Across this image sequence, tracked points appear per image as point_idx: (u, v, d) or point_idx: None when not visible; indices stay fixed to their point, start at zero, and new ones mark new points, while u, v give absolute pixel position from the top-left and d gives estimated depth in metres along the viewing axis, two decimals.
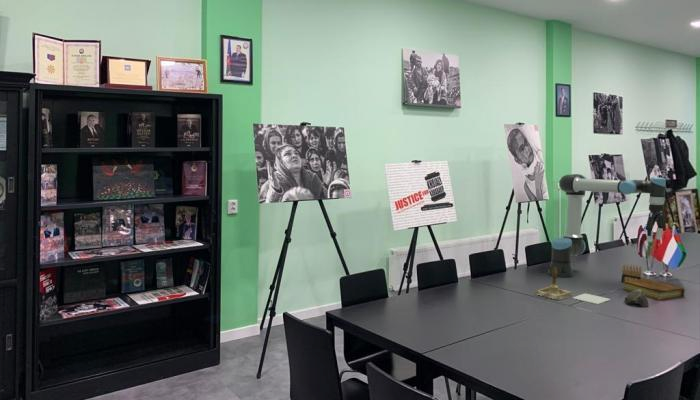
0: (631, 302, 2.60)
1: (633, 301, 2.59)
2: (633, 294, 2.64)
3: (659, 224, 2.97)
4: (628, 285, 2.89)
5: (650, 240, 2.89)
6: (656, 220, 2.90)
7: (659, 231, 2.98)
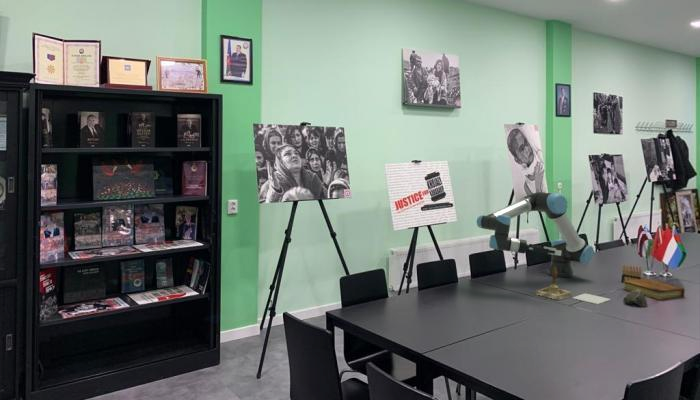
0: (630, 302, 2.60)
1: (632, 301, 2.59)
2: (632, 294, 2.64)
3: None
4: (628, 285, 2.89)
5: None
6: None
7: None
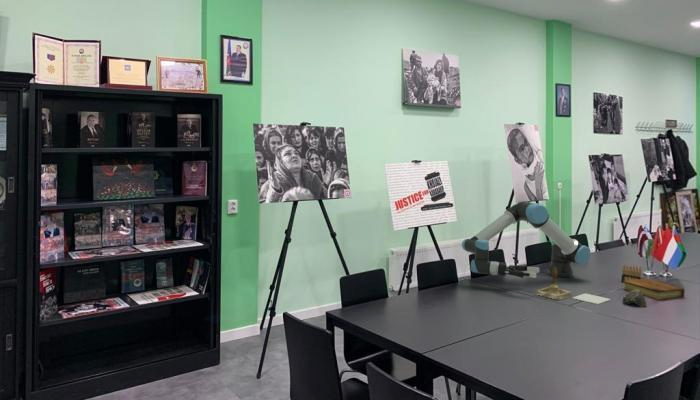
0: (629, 302, 2.60)
1: (631, 301, 2.59)
2: (631, 294, 2.64)
3: None
4: (628, 285, 2.89)
5: None
6: None
7: None
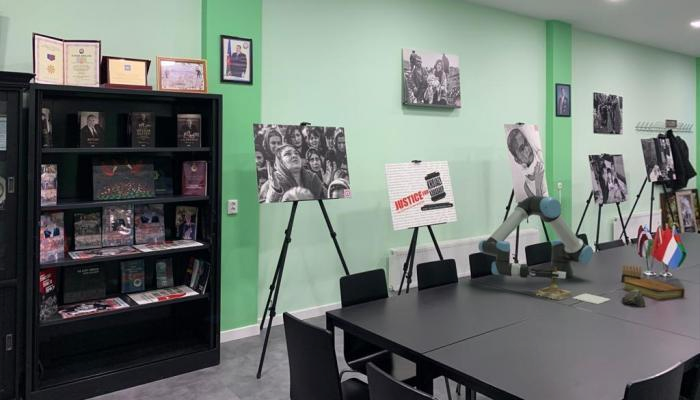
0: (627, 302, 2.60)
1: (629, 301, 2.59)
2: (630, 294, 2.64)
3: None
4: (628, 285, 2.89)
5: None
6: None
7: None
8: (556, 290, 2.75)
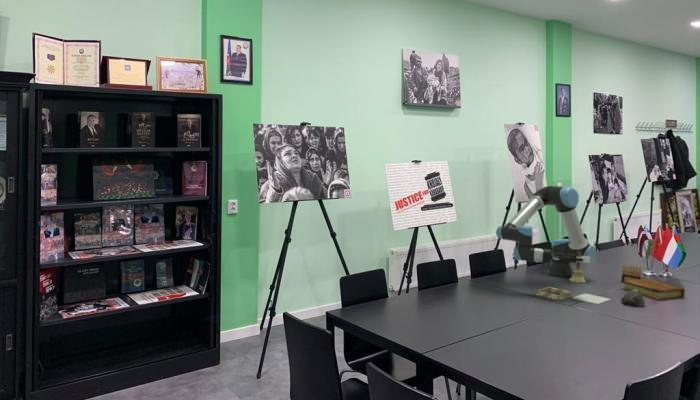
0: (627, 302, 2.60)
1: (629, 301, 2.59)
2: (629, 294, 2.64)
3: None
4: (628, 285, 2.89)
5: None
6: None
7: None
8: (580, 275, 2.69)
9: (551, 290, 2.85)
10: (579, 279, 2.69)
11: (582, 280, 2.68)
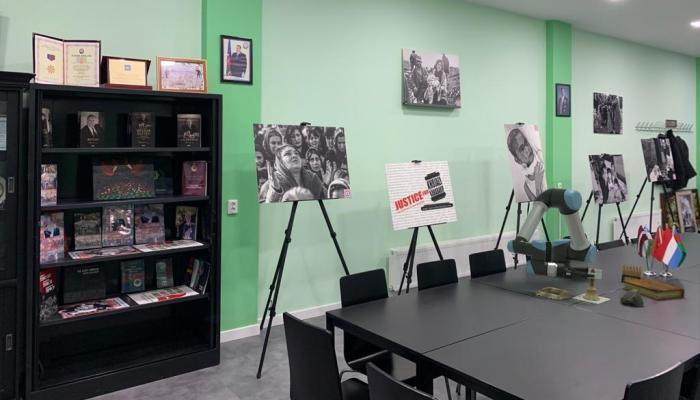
0: (626, 302, 2.60)
1: (628, 301, 2.59)
2: (628, 294, 2.64)
3: None
4: (628, 285, 2.90)
5: None
6: None
7: None
8: (594, 293, 2.69)
9: (551, 290, 2.85)
10: (593, 297, 2.68)
11: (596, 298, 2.68)
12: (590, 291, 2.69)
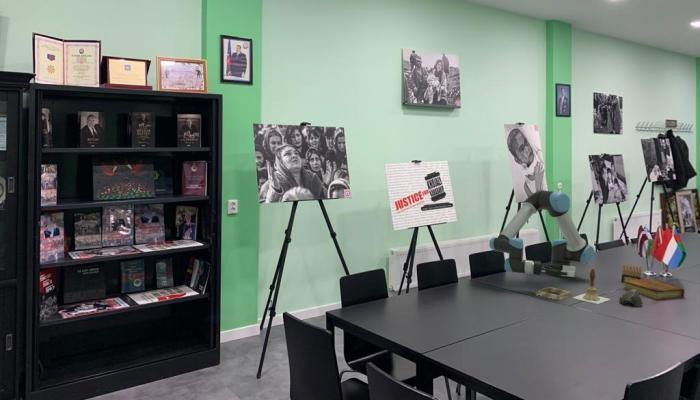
0: (625, 302, 2.60)
1: (627, 301, 2.59)
2: (627, 294, 2.64)
3: None
4: (628, 285, 2.90)
5: None
6: None
7: None
8: (594, 293, 2.69)
9: (551, 290, 2.85)
10: (593, 297, 2.68)
11: (596, 298, 2.68)
12: (590, 291, 2.69)
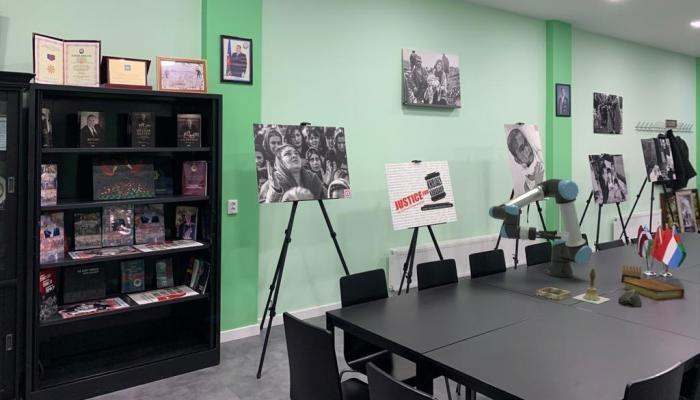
0: (624, 302, 2.60)
1: (626, 301, 2.59)
2: (627, 294, 2.64)
3: None
4: (628, 284, 2.90)
5: None
6: None
7: None
8: (594, 293, 2.69)
9: (551, 290, 2.85)
10: (593, 297, 2.68)
11: (596, 298, 2.68)
12: (590, 291, 2.69)
